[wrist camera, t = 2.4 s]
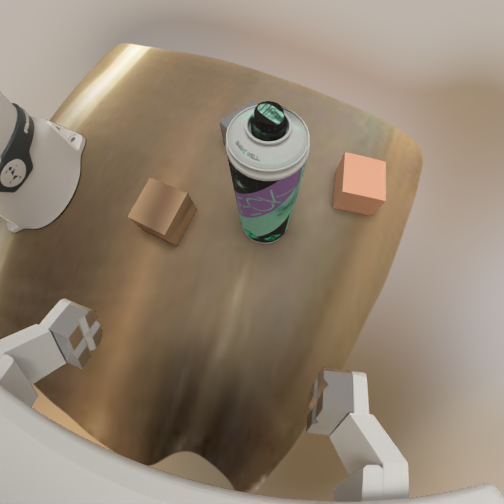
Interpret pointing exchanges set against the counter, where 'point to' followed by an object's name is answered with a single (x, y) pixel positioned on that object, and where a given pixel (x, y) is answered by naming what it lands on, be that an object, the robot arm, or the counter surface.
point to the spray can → (266, 167)
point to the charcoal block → (227, 120)
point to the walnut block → (163, 211)
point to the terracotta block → (359, 184)
